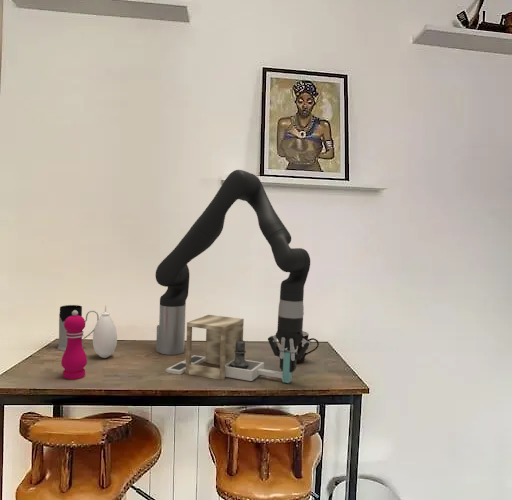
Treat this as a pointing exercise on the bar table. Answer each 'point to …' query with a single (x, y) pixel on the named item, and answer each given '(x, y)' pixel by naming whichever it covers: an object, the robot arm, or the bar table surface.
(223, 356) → the tunnel
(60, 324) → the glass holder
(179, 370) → the pit trap board
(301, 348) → the coffee mug
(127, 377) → the bar table surface
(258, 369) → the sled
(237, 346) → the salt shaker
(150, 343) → the bar table surface
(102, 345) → the sauce bottle
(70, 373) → the pepper mill
